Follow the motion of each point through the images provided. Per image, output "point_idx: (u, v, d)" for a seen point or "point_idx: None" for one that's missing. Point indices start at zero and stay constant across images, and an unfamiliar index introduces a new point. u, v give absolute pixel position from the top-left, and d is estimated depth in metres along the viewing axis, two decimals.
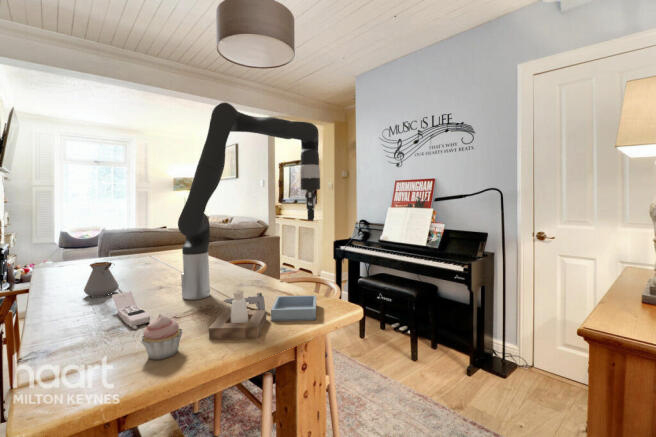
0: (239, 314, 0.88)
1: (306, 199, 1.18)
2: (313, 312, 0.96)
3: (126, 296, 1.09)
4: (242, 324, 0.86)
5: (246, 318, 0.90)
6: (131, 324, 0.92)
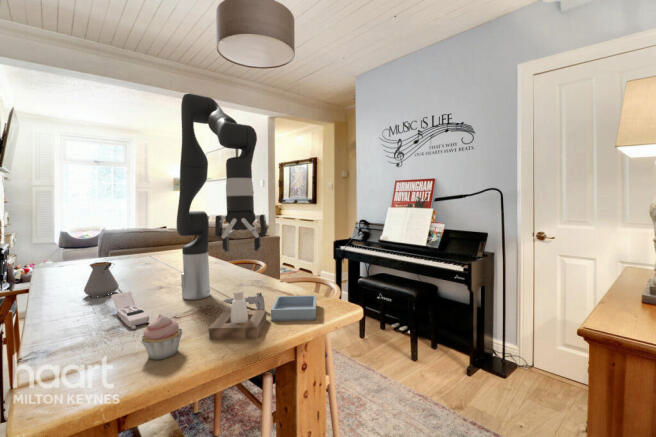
0: (239, 314, 0.88)
1: (250, 224, 0.89)
2: (313, 312, 0.96)
3: (125, 296, 1.09)
4: (242, 324, 0.86)
5: (246, 318, 0.90)
6: (130, 324, 0.92)
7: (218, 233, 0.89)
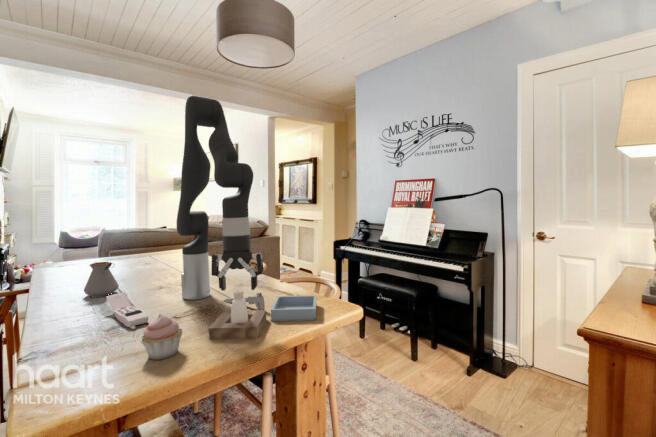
0: (239, 314, 0.88)
1: (246, 263, 0.88)
2: (313, 312, 0.96)
3: (121, 297, 1.08)
4: (242, 324, 0.86)
5: (246, 318, 0.90)
6: (129, 324, 0.92)
7: (214, 272, 0.88)
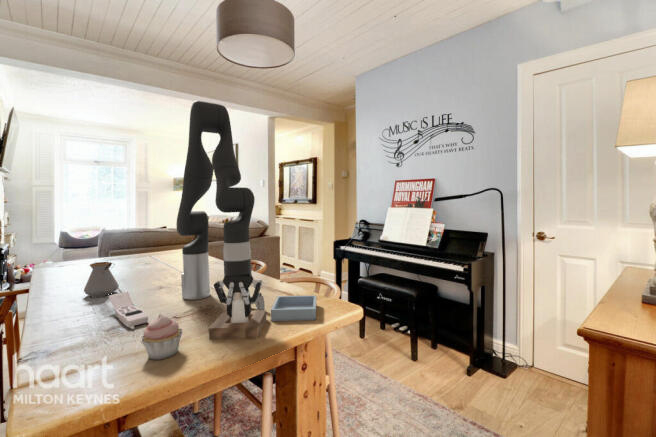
0: (239, 314, 0.88)
1: (245, 289, 0.89)
2: (313, 312, 0.96)
3: (123, 296, 1.08)
4: (242, 324, 0.86)
5: (246, 318, 0.90)
6: (129, 324, 0.92)
7: (223, 299, 0.89)
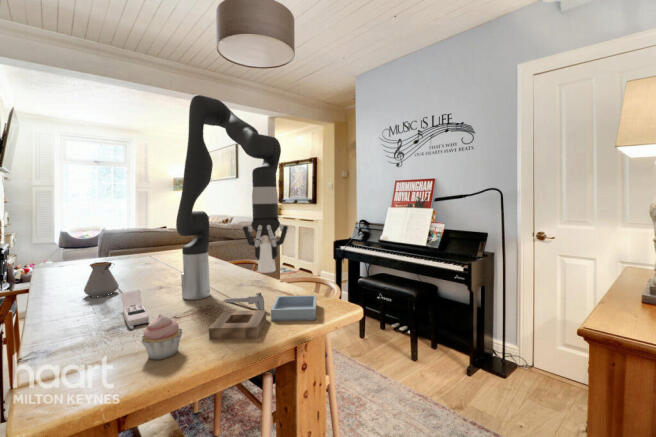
0: (267, 255, 0.93)
1: (272, 232, 0.93)
2: (313, 312, 0.96)
3: (134, 294, 1.11)
4: (242, 324, 0.86)
5: (273, 260, 0.95)
6: (129, 324, 0.92)
7: (251, 242, 0.94)
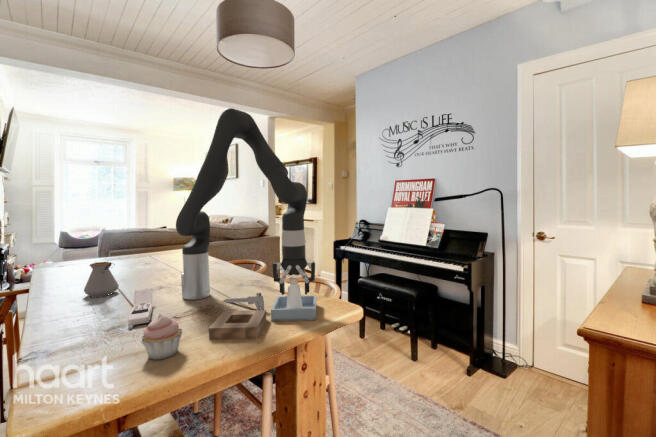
0: (295, 297, 1.01)
1: (302, 270, 1.01)
2: (313, 312, 0.96)
3: (147, 292, 1.13)
4: (242, 324, 0.86)
5: (300, 301, 1.02)
6: (129, 323, 0.93)
7: (276, 279, 1.01)
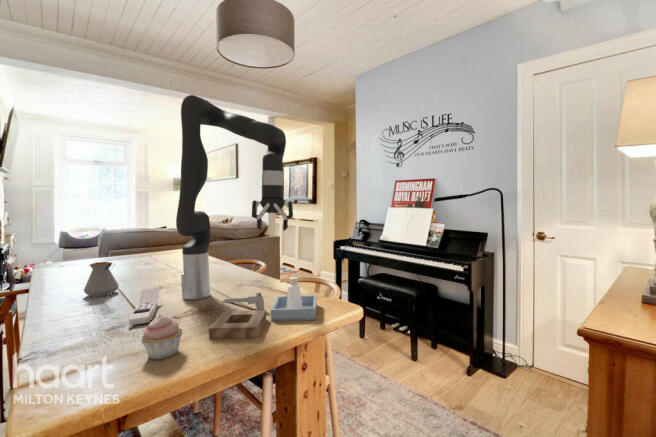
0: (295, 297, 1.01)
1: (280, 208, 1.09)
2: (313, 312, 0.96)
3: (153, 292, 1.14)
4: (242, 324, 0.86)
5: (300, 301, 1.02)
6: (129, 322, 0.93)
7: (254, 215, 1.09)
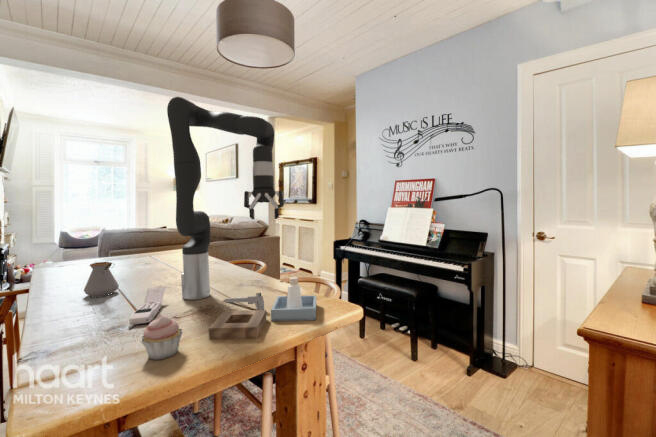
0: (295, 297, 1.01)
1: (271, 197, 1.14)
2: (313, 312, 0.96)
3: (159, 291, 1.14)
4: (242, 324, 0.86)
5: (300, 301, 1.02)
6: (130, 322, 0.94)
7: (246, 205, 1.14)
